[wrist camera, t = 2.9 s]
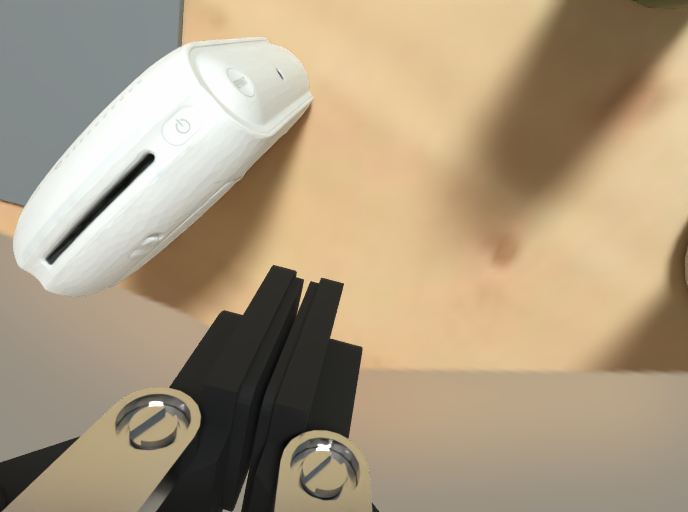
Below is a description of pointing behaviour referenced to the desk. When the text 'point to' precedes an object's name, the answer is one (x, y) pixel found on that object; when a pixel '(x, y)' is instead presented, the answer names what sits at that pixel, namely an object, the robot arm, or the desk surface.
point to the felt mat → (69, 74)
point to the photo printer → (158, 161)
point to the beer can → (663, 3)
